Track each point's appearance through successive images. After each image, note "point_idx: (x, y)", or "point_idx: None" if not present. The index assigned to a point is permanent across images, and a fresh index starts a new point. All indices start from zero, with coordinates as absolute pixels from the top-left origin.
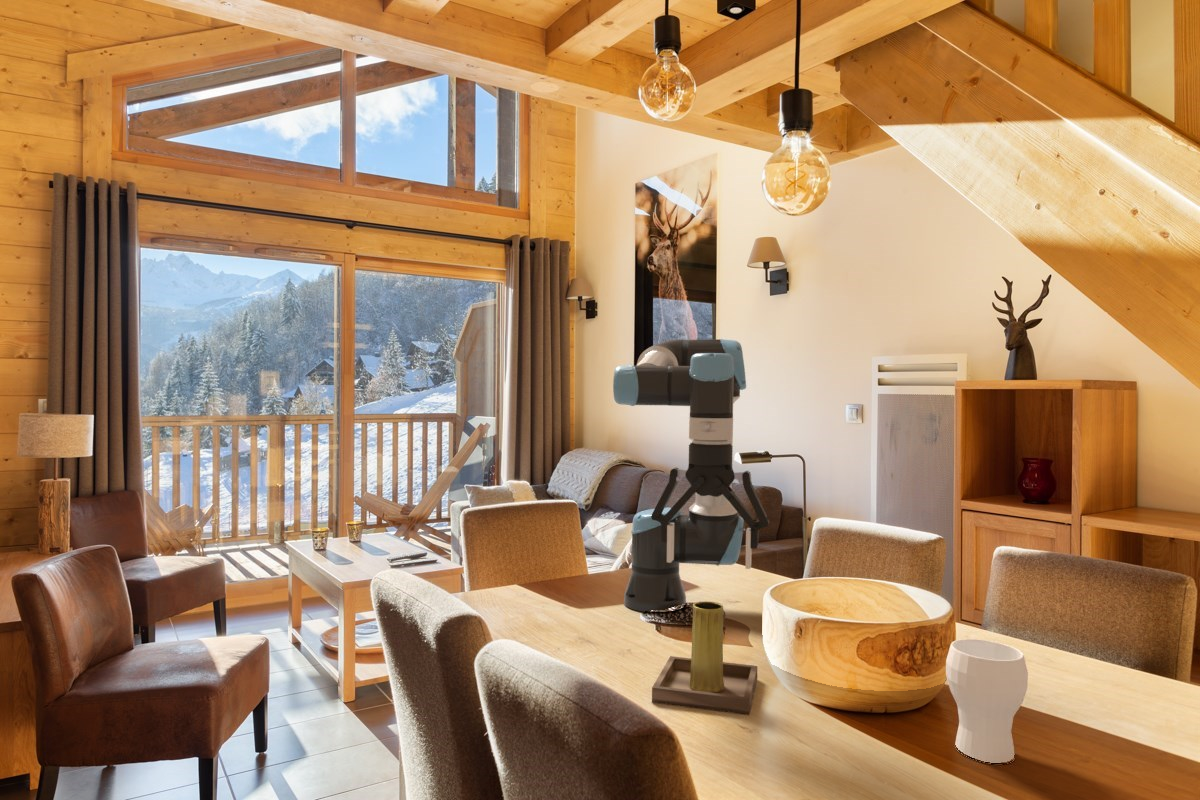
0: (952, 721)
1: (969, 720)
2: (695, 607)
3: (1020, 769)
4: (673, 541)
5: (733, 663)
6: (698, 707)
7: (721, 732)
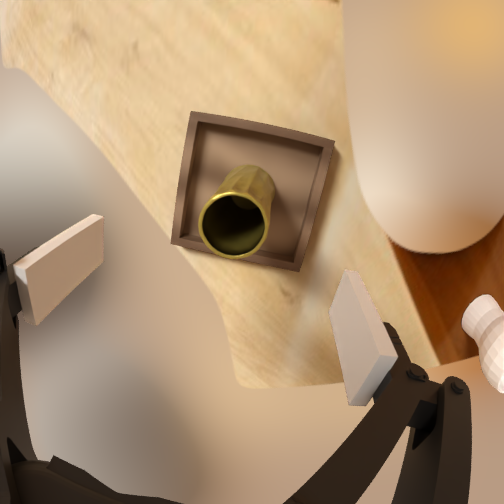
0: (493, 258)
1: (476, 342)
2: (204, 242)
3: None
4: (69, 249)
5: (296, 132)
6: None
7: (258, 306)
